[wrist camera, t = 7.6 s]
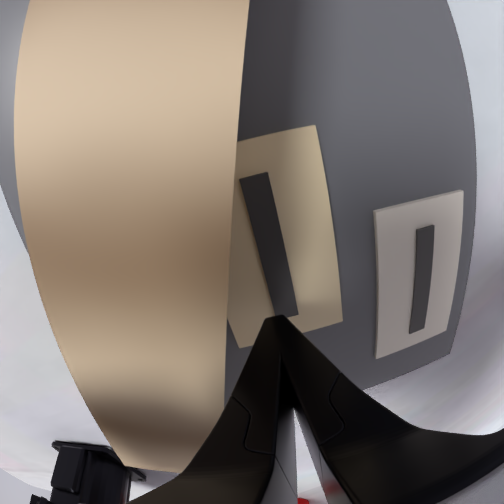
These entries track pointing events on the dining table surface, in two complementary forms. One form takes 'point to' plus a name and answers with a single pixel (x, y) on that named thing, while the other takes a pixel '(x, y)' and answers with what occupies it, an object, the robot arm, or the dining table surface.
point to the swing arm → (133, 206)
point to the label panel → (337, 180)
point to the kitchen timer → (302, 501)
